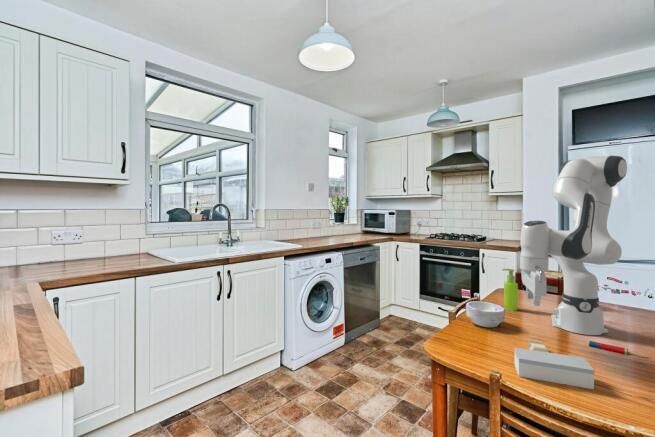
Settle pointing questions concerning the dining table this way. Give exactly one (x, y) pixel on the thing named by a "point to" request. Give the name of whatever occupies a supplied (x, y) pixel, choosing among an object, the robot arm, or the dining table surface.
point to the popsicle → (613, 349)
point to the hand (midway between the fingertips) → (533, 301)
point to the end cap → (554, 368)
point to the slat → (537, 346)
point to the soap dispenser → (510, 292)
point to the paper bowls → (485, 313)
